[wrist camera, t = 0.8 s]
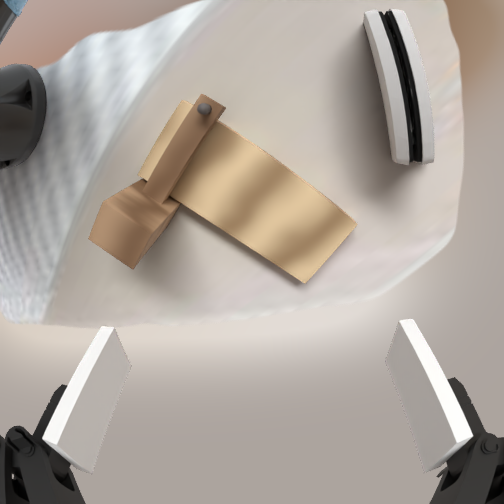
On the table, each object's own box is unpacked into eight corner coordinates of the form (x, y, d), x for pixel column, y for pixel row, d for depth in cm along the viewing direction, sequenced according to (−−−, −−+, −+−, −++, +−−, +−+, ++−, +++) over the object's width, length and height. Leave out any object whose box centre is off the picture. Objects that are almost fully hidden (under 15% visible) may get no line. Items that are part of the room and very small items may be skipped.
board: (144, 171, 30) (137, 174, 28) (186, 101, 26) (181, 100, 24) (302, 275, 35) (304, 283, 33) (352, 218, 31) (357, 224, 29)
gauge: (132, 204, 31) (88, 238, 22) (199, 91, 26) (169, 78, 17) (166, 227, 33) (133, 269, 24) (239, 115, 27) (227, 112, 18)
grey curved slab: (428, 158, 27) (450, 179, 19) (390, 159, 29) (400, 180, 21) (401, 22, 20) (413, -8, 12) (362, 24, 23) (360, -6, 14)
